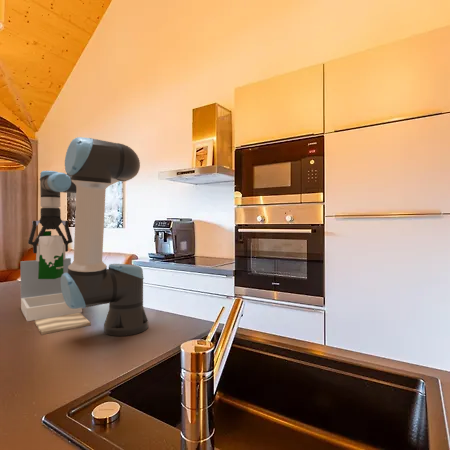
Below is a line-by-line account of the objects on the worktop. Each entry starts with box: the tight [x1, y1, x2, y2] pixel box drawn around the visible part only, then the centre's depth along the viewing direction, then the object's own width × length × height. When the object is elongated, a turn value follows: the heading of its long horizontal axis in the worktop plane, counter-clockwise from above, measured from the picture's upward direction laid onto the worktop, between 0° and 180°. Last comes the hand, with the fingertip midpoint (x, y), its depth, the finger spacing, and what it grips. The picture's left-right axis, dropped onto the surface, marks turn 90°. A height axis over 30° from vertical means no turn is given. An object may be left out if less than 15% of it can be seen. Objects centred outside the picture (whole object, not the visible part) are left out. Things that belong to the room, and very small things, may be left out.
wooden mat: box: [34, 312, 92, 335], centre depth 120 cm, size 16×16×1 cm
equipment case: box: [19, 257, 83, 322], centre depth 140 cm, size 27×20×21 cm
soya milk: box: [36, 230, 64, 279], centre depth 137 cm, size 9×9×20 cm
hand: (51, 260), depth 137 cm, fingers closed on soya milk, 9 cm apart
